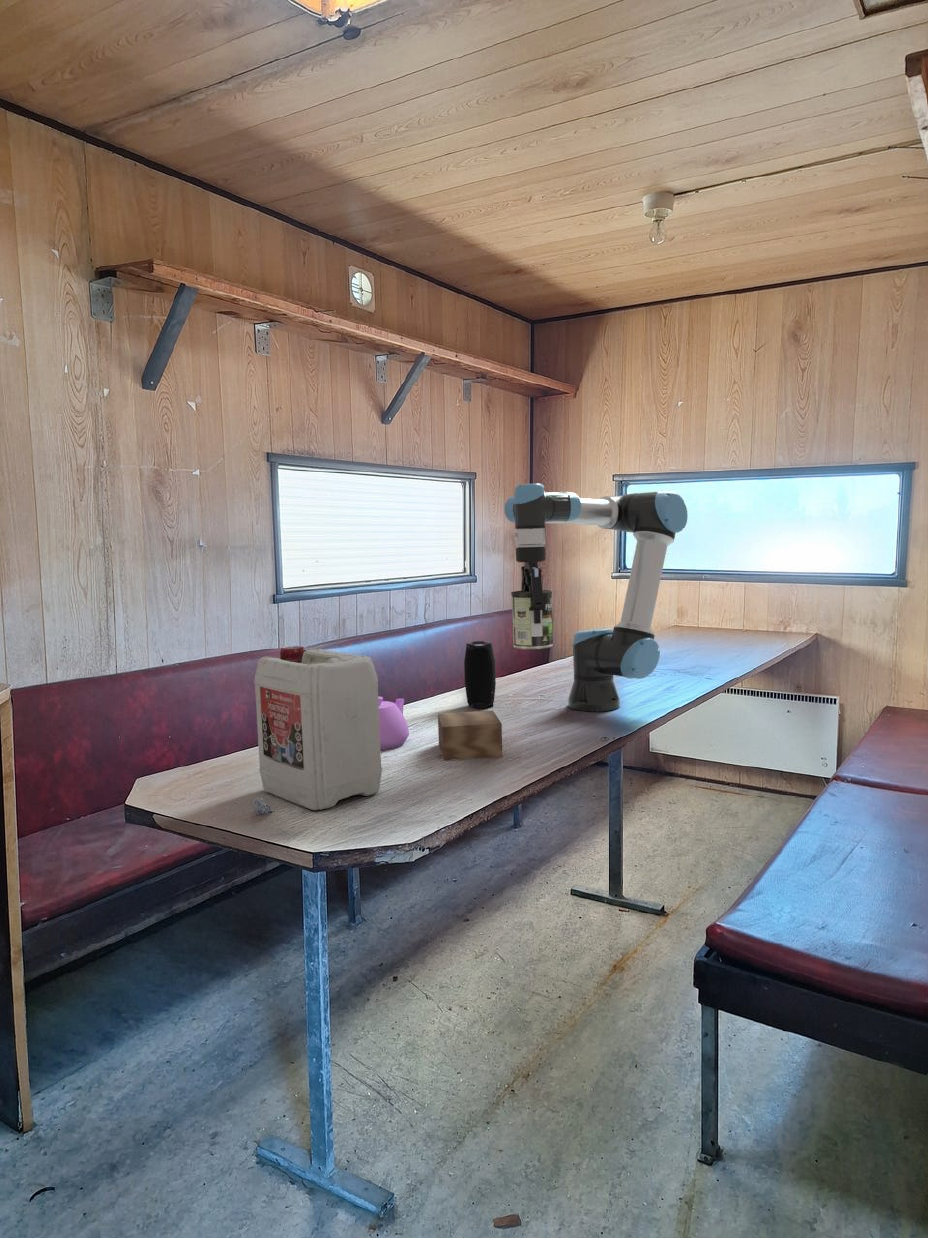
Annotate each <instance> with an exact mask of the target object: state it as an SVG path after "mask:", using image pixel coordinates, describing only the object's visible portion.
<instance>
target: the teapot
mask: <svg viewBox="0 0 928 1238" xmlns="http://www.w3.org/2000/svg"><path fill="white" fill-rule="evenodd" d="M404 703H405V699H404V698H396V699H395V702H392V701H387V700H384V697H383V696H379V695H378V704H379V730H380V751H382V750H390V749H394V748H398V747H400V746H402V745H403V744H404V743H405V742H406V740H407V739H408V737H409V736H410V731H409V730H410V729H409V725H408V722H407V720H406V717H405V716H404Z"/></svg>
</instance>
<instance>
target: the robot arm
mask: <svg viewBox="0 0 928 1238" xmlns="http://www.w3.org/2000/svg"><path fill="white" fill-rule="evenodd" d="M503 509H504V515H505V517H506V519H507V520H508V521H510V523H514V526H515V527H514V528H515V532H514V533H513V534H512V535H513V537H514V538H515V545H516V546H517V547H516V548H515V561H516V562H517V563H524V566H521V568H520V569H521V588H520V591H524V592H525V591H529V592H530V593H532V594H531V607H529V611H531V637H538V636H543V634H542V608H544V603H543V591H542V590H543V583H542V579H543V578H542V571H543V570H542V568H541V567H540V568H539V565H538V564H539V562H544V561H546V560H547V559H546V558H547V555H546V547H545V546H544V545H545V544H546V541H547V540H546V524H554V525H555V524H561V525H583V526H598V528H600V529H603V530H612V531H613V530H614V531H619V532H623V533H624V532H626V533H632V535H633V537H634V539H635V540H636V545H635V551H634V554H633V560H632V565H631V569H630V573H629V579H628V585H627V588H626V593H625V598H624V603H623V608H622V613H621V617H620V621H619V622H618V623H617V624H615V625H614V626H613V628H610V627H608V628H596V629H595V628H594V629H586V630H580V631H576V632H575V633H574V635H573V643H572V655H573V656H572V658H573V660H572V661H573V682H572V686H571V690H570V692H569V694H568V695H569V696H568V698H567V699H568V700H567V702H568V707H569V708H570V709H572V710H575V711H582V712H583V711H584V712H605V711H613V710H616V709H619V708H620V705H621V703H620V696H619V693H618V691H617V687H616V684H615V682H614V681H615V680H614V676H616V677H623V678H627V679H629V680H630V679H632V680H633V679H636V680H637V679H638V680H639V679H640V680H642V679H645V678H647V677H649V676H650V675H651V674H652V673H653V672H655V669H656V668H657V666H658V664H659V661H660V657H661V651H660V648H659V647H660V646H659V643H658V642H657V641H656V640H655V637H656V635H655V632H654V630H653V629H652V624H653V620H654V619H653V618H654V613H655V608H656V603H657V600H658V599H657V598H658V595H659V590H660V584H661V579H662V575H663V569H664V564H665V560H666V554H667V549H668V547H669V546H670V545H672V544H673V543H674V542H675V539H676V538H675V537H676V534H678V533H680V532H682V531H683V530H684V529H685V528H686V525H687V523H688V507H687V505H686V503H685V501H684V499H683V498H682V496H681V495H680V494H679V493H677V492H675V491H670V490H669V491H667V490H666V491H665V490H658V491H651V492H650V491H648V492H637V493H636V492H635V493H634V492H633V493H627V494H623V495H616V496H615V495H614V496H610V495H609V496H602V497H600V498H587V497H586V498H585V497H584V498H583V497H579V495H578V494H577V493H575V492H570V491H551V492H549V491H545V486H544V484H543V483H524V484H523V483H521V484H517V485H516V486H515V488H514V495H512V496H510V497H508V498H507V499H506V501H505V504H504V508H503Z"/></svg>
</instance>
